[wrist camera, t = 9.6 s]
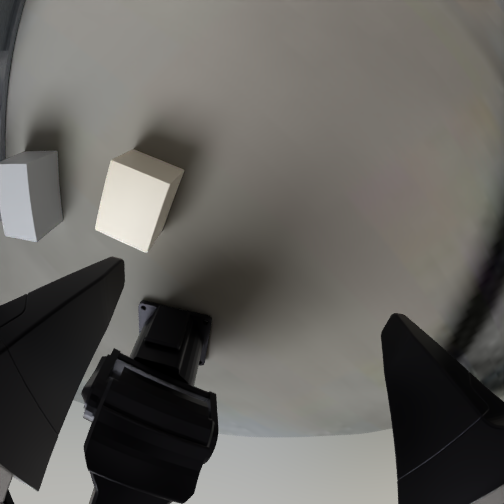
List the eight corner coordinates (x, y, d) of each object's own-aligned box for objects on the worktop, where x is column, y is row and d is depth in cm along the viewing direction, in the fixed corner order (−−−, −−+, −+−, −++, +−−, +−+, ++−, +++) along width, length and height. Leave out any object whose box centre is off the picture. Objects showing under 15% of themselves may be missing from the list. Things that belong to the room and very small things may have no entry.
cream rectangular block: (162, 230, 22) (146, 253, 19) (116, 209, 21) (95, 229, 18) (185, 169, 20) (169, 184, 16) (134, 148, 19) (111, 160, 16)
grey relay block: (64, 220, 22) (37, 242, 18) (32, 215, 22) (5, 235, 18) (58, 150, 19) (26, 163, 15) (25, 151, 19) (-6, 164, 15)
